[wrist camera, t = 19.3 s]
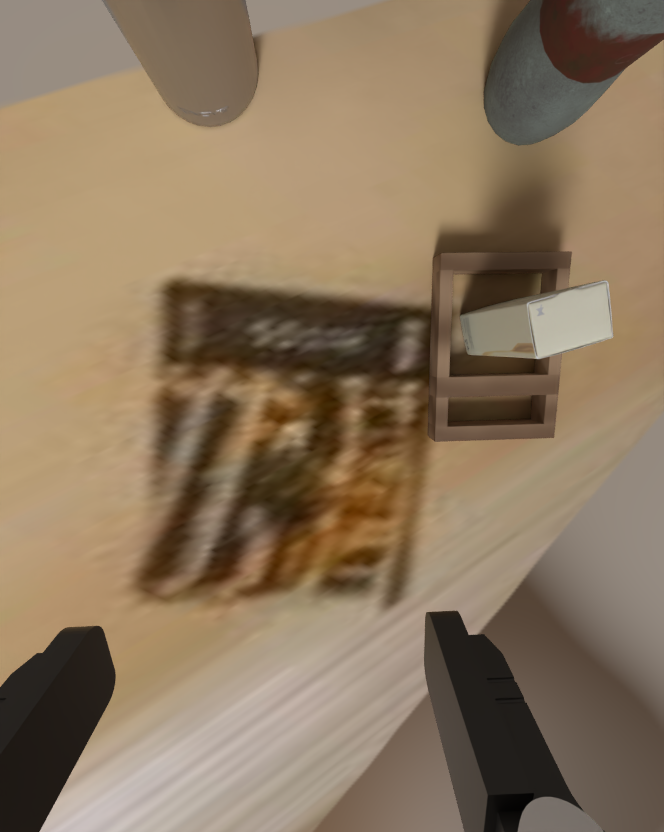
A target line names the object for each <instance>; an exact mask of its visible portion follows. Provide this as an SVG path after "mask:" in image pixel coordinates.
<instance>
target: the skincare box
mask: <svg viewBox="0 0 664 832" xmlns="http://www.w3.org/2000/svg"><path fill="white" fill-rule="evenodd" d="M460 320H461V326H462V332H463V337H464V342H465V346H466V351H467V354H468V355H484V356H500V357H518V358H533V359H541V358H546V357H550V356H554V355H558V354H562V353H565V352H569V351H572V350H575V349H579V348H582V347H585V346H589V345H592V344H595V343H598V342H601V341H604V340H607V339H610V338H612V337H613V328H612V315H611V305H610V294H609V284H608V282H607V281H605V280H603V281H598V282H594V283H589V284H584V285H580V286H575V287H570V288H566V289H561V290H556V291H552V292H547V293H542V294H538V295H533V296H528V297H523V298H519V299H514V300H510V301H506V302H502V303H498V304H495V305H491V306H487V307H484V308H481V309H477V310H474V311H471V312H468V313H465V314H462V315H460Z"/></svg>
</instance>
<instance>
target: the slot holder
mask: <svg viewBox="0 0 664 832" xmlns="http://www.w3.org/2000/svg"><path fill="white" fill-rule="evenodd" d="M571 254H572V252H490V253H441V254H439V255H438V256H436V257H435V258H433V274H432V308H431V343H430V377H429V412H428V436H429V437H430V438H431V439H432V440H434V441H435V442H440V441H470V440H501V439H532V438H554V432H555V422H556V411H557V401H558V390H559V380H560V369H561V359H562V354H558V355H554V356H550V357H546V358H541V359H535V367H534V373H502V374H463V375H449V369H450V343H451V318H452V292H453V274H520V273H542V282H541V294H542V293H547V292H552V291H556V290H561V289H566V288H568V286H569V275H570V265H571ZM518 395H532V404H531V416H530V419H512V420H479V421H447V420H448V397H482V396H518Z"/></svg>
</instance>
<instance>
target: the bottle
mask: <svg viewBox="0 0 664 832" xmlns="http://www.w3.org/2000/svg"><path fill="white" fill-rule="evenodd" d="M662 40H664V0H530V1H529V3H528V4H527V5H526V6H525V8H524V9H523V10H522V11H521V13H520V14H519V15H518V16H517V17H516V19H515V20H514V21H513V23H512V24H511V26H510V28H509V29H508V31H507V33H506V35H505V36H504V38H503V40H502V42H501V44H500V46H499V48H498V51H497V53H496V55H495V57H494V59H493V61H492V63H491V67H490V71H489V75H488V78H487V82H486V86H485V90H484V109H485V113H486V116H487V120H488V122H489V124H490V125H491V127H492V129H493V130H494V132H495V133H496V134H497V135H498V136H500V137H501V138H502V139H503V140H505V141H506V142H509V143H512V144H516V145H530V144H534V143H537V142H540V141H542V140H544V139H547V138H549V137H551V136H553V135H555V134H557V133H558V132H560V131H562V130H563V129H565V128H566V127H568V126H570V125H571V124H573V123H574V122H575V121H576V120H578V119H579V118H580V117H581V116H582V115H583V114H584V113H585V112H586V111H588V110H589V108H590V107H591V106H592V105H593V104H594V103H595V102H596V101H597V100H598V99H599V98H600V97H601V96H602V94H603V93H604V92H605V91H606V90H607V89H608V88H609V87H610V86H611V84H612V83H613V82H614V81H615V80H616V79H617V78H618V76H619V75H620V74H621V73H622V72H623V71H624V70H625V68H627V67H628V66H629V65H631V64H632V63H633V62H634V61H636V60H637V59H638V58H640V57H641V56H642V55H644V54H645V53H646V52H648V51H649V50H650V49H652V48H653V47H654V46H656V45H657V44H658V43H660V42H661V41H662Z"/></svg>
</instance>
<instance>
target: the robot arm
mask: <svg viewBox="0 0 664 832" xmlns="http://www.w3.org/2000/svg"><path fill="white" fill-rule="evenodd" d="M102 1H103V3H104V4H105V6H106V8H107V9H108V11H109V13H110V14H111V16H112V18H113V19H114V21H115V22H116V24H117V26H118V27H119V29H120V30H121V32H122V34H123V35H124V37H125V39H126V40H127V42H128V43H129V45H130V47H131V48H132V50H133V51H134V53H135V54H136V56H137V58H138V59H139V61H140V63H141V64H142V66H143V68H144V69H145V71H146V73H147V74H148V76H149V77H150V79H151V81H152V82H153V84H154V85H155V87H156V89H157V90H158V92H159V93H160V95H161V97H162V98H163V99H164V101H165V102H166V104H167V105H168V106H169V108H171V109H172V110H173V111H174V112H175V113H176V114H177V115H178V116H180V117H181V118H183V119H184V120H186V121H188V122H190V123H193V124H196V125H199V126H207V127H212V126H221V125H223V124H226V123H229V122H231V121H232V120H234V119H235V118H237V117H238V116H240V115H241V113H242V112H243V111H244V110H245V109H246V108H247V107H248V105H249V103H250V101H251V100H252V98H253V95H254V92H255V89H256V86H257V79H258V64H257V57H256V52H255V47H254V42H253V37H252V32H251V27H250V21H249V16H248V11H247V6H246V2H245V0H102ZM424 666H425V675H426V681H427V686H428V691H429V695H430V698H431V702H432V706H433V710H434V714H435V718H436V721H437V726H438V730H439V733H440V737H441V741H442V745H443V749H444V753H445V757H446V761H447V765H448V769H449V773H450V777H451V781H452V785H453V789H454V792H455V796H456V800H457V804H458V808H459V812H460V816H461V820H462V823H463V828H464V831H465V832H605V831H603V830H602V829H601V828H600V827H599V826H598V825H597V823H596V822H595V821H594V820H593V819H592V818H590V817H589V816H588V815H587V814H586V813H585V812H584V811H583V810H582V808H581V807H580V806H579V805H578V803H577V802H576V800H575V799H574V797H573V796H572V794H571V792H570V791H569V789H568V787H567V785H566V783H565V781H564V779H563V777H562V775H561V773H560V771H559V768H558V766H557V764H556V763H555V760H554V758H553V756H552V754H551V752H550V750H549V748H548V746H547V744H546V742H545V740H544V738H543V736H542V734H541V732H540V730H539V728H538V726H537V724H536V721H535V719H534V718H533V715H532V713H531V711H530V709H529V707H528V705H527V703H525V701H524V697H523V695H522V693H521V691H520V689H519V687H518V685H517V683H516V682H515V681H514V677H513V675H512V672H511V670H510V668H509V666H508V664H507V662H506V660H505V658H504V656H503V654H502V653H501V652H500V651H499V650H498V649H497V647H495V645H494V644H493V643H492V642H491V641H490V640H489V639H488V638H487V637H486V636H485V635H484V634H481V635H468V632H467V630H466V628H465V625H464V623H463V620H462V618H461V616H460V614H459V612H458V611H441V612H427V613H426V617H425V647H424ZM115 678H116V675H115V669H114V665H113V662H112V658H111V655H110V651H109V648H108V644H107V641H106V637H105V634H104V631H103V629H102V628H101V627H100V626H86V627H67V628H65V629H63V630H62V631H60V632H59V634H58V635H57V636H56V637H55V638H54V640H53V641H52V642H51V643H50V645H49V646H48V647H47V648H46V650H45V651H44V652H43V653H37V654H36V655H34V656H33V657H32V658H31V659H29V660H28V661H27V662H26V663H24V664H23V665H22V666H21V667H20V668H18V669H17V670H16V671H15V672H13V673H12V674H11V675H10V676H9V677H8V679H7V680H6V681H5V682H4V683H3V685H2V686H1V687H0V832H39V831H40V829H41V828H42V826H43V824H44V822H45V820H46V818H47V817H48V815H49V813H50V811H51V809H52V807H53V805H54V804H55V802H56V800H57V798H58V796H59V794H60V792H61V791H62V789H63V787H64V785H65V783H66V781H67V779H68V778H69V776H70V774H71V772H72V770H73V768H74V766H75V765H76V763H77V761H78V759H79V757H80V755H81V753H82V752H83V750H84V748H85V746H86V744H87V742H88V741H89V739H90V737H91V735H92V733H93V731H94V729H95V728H96V726H97V724H98V722H99V720H100V718H101V716H102V715H103V713H104V711H105V709H106V707H107V705H108V703H109V701H110V699H111V697H112V694H113V690H114V686H115Z"/></svg>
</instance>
